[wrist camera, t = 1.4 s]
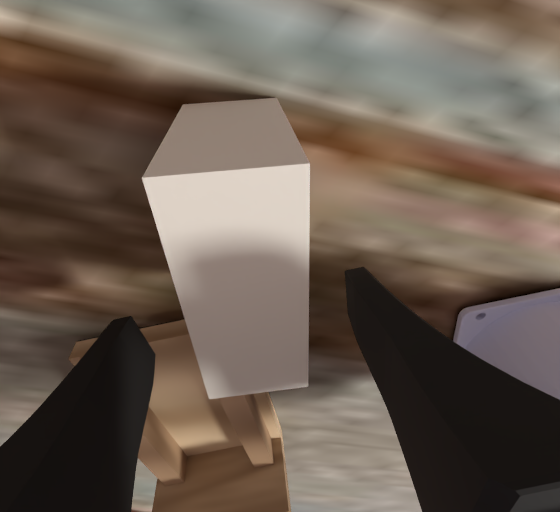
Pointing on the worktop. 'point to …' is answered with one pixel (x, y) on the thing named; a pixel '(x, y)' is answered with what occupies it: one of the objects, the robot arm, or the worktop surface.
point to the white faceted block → (237, 241)
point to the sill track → (206, 436)
